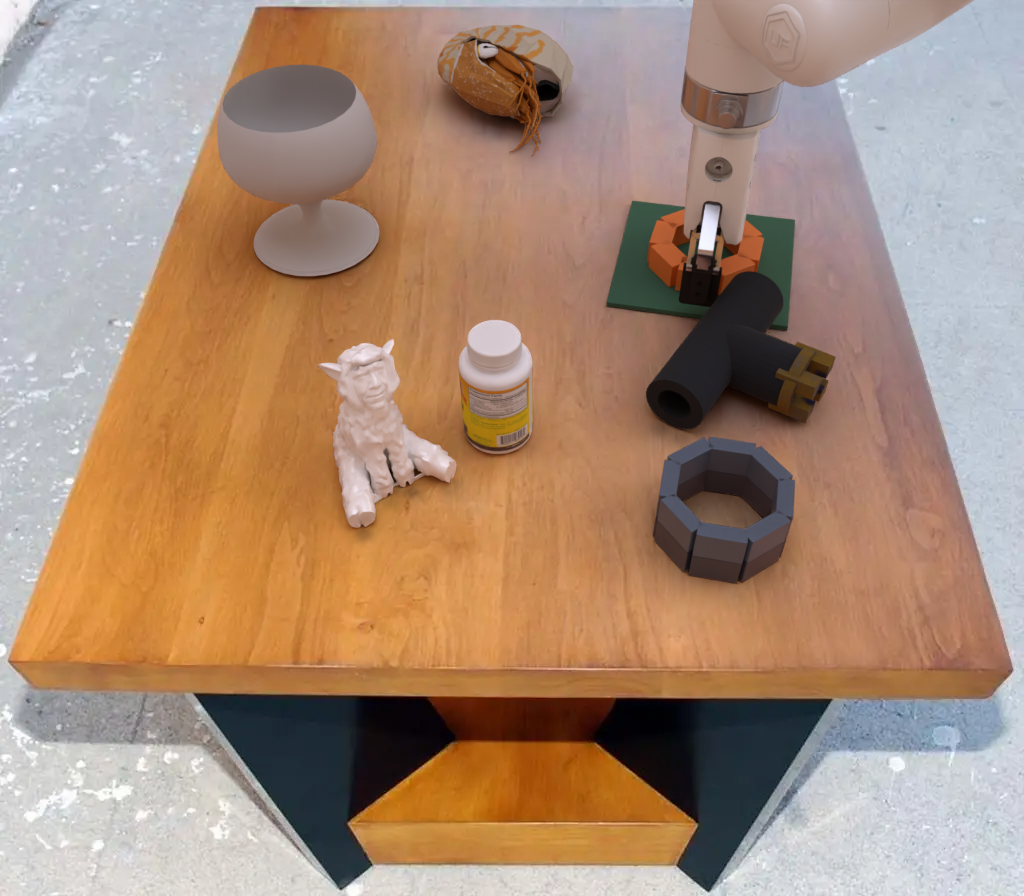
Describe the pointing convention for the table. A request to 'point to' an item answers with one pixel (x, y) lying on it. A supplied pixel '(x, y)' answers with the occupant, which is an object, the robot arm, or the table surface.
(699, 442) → the ring stack
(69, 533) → the table surface
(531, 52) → the nautilus
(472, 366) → the supplement bottle
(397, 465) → the white creature statuette
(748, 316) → the pipe connector
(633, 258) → the green mat
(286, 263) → the chalice
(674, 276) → the orange ring
